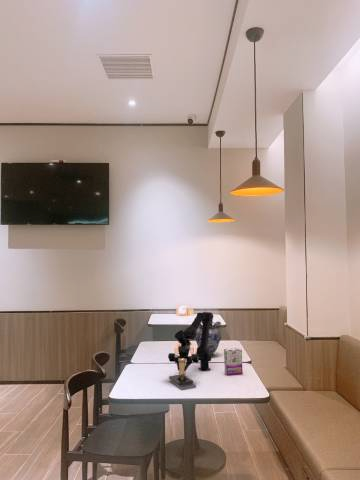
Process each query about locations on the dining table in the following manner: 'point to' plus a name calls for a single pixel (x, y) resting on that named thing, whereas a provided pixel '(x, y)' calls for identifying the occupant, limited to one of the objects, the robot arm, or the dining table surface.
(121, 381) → the dining table surface
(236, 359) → the candy bar box
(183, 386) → the grey rectangular frame
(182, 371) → the brass pin
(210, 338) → the decorative vase
